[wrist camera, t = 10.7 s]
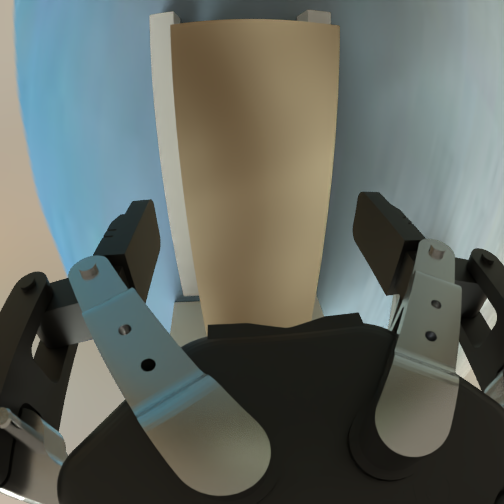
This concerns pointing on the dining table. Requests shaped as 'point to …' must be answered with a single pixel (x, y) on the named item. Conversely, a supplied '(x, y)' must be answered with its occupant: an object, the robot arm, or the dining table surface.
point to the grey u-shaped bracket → (184, 313)
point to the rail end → (256, 161)
